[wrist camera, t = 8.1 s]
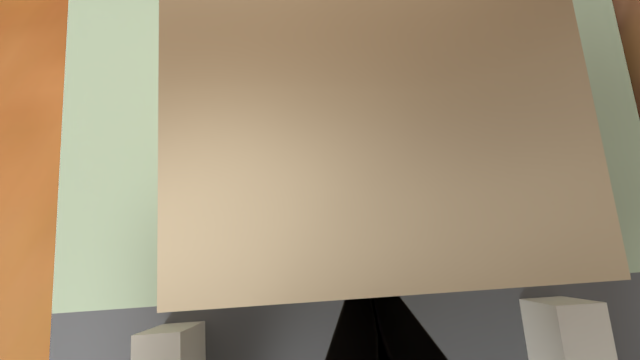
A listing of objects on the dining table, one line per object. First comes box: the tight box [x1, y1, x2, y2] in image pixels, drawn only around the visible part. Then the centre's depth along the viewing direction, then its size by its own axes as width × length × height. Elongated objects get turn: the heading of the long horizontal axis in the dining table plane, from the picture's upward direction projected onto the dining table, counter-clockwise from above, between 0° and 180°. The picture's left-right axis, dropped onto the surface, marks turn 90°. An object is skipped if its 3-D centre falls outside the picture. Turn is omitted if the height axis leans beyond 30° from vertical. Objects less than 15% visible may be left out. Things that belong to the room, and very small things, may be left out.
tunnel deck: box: [49, 0, 640, 360], centre depth 13 cm, size 47×18×6 cm, turn 4°
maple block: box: [157, 0, 631, 313], centre depth 10 cm, size 8×6×7 cm
